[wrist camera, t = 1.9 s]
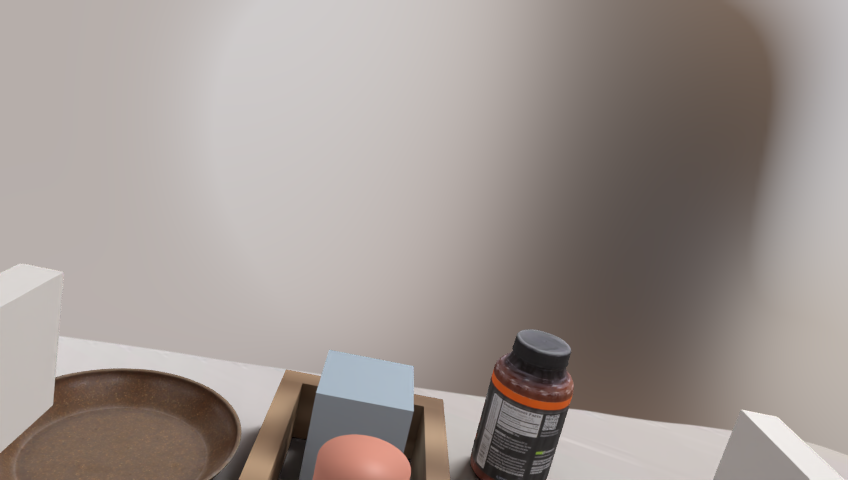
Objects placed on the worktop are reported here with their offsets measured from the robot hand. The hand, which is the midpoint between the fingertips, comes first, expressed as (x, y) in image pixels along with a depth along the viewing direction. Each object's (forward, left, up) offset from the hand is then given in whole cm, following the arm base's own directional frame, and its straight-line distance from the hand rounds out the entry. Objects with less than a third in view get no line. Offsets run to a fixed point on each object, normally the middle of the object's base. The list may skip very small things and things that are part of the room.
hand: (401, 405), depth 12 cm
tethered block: (+8, -17, -21) cm, 28 cm away
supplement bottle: (+2, -32, -21) cm, 39 cm away
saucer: (+23, -16, -22) cm, 36 cm away
